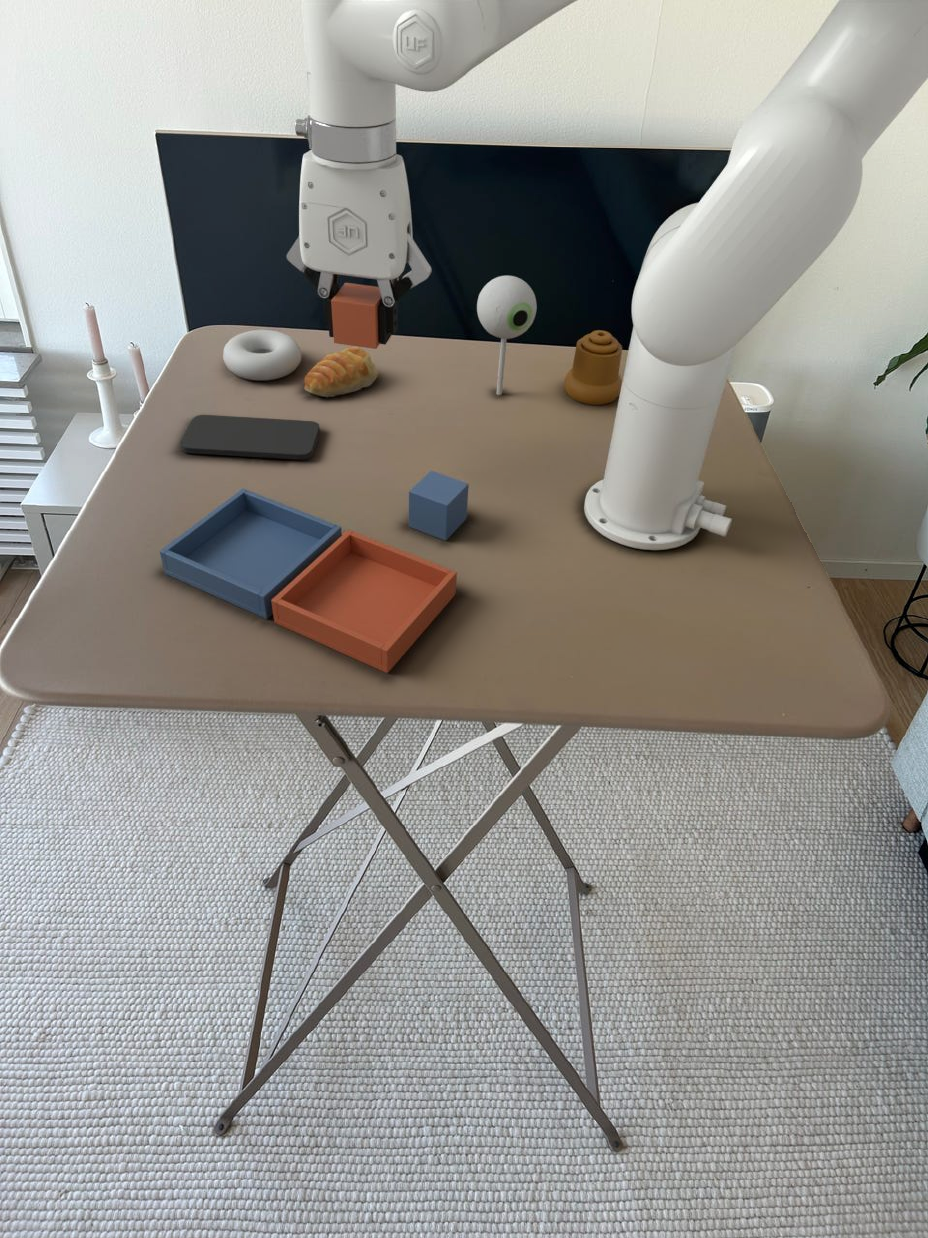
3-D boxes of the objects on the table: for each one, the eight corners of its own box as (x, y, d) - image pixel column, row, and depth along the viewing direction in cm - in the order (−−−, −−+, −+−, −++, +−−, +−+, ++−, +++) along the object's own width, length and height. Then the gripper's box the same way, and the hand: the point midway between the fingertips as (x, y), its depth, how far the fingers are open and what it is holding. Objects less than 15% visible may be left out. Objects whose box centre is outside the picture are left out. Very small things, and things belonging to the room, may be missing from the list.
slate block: (466, 518, 93) (469, 483, 90) (445, 541, 90) (447, 505, 87) (430, 505, 95) (431, 470, 92) (408, 526, 92) (408, 491, 89)
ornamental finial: (622, 383, 117) (617, 411, 111) (567, 375, 118) (559, 402, 112) (633, 325, 111) (628, 351, 106) (575, 317, 112) (567, 342, 107)
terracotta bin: (455, 594, 84) (457, 572, 83) (387, 673, 76) (387, 651, 74) (349, 551, 88) (348, 529, 86) (273, 622, 80) (271, 600, 78)
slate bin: (342, 548, 89) (341, 526, 87) (266, 619, 81) (263, 596, 79) (246, 510, 92) (242, 487, 91) (164, 573, 84) (159, 551, 83)
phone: (194, 413, 104) (321, 421, 104) (195, 419, 105) (321, 427, 105) (176, 447, 99) (310, 455, 99) (178, 453, 99) (310, 461, 99)
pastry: (328, 407, 108) (326, 378, 106) (291, 388, 112) (288, 360, 109) (382, 381, 114) (381, 353, 111) (345, 364, 117) (344, 336, 114)
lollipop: (488, 412, 110) (497, 293, 99) (461, 386, 114) (468, 270, 104) (536, 401, 112) (551, 284, 102) (509, 376, 117) (520, 262, 106)
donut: (280, 392, 111) (315, 357, 118) (277, 367, 108) (313, 332, 115) (210, 376, 113) (248, 342, 120) (205, 351, 110) (245, 318, 117)
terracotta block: (388, 330, 92) (388, 287, 89) (376, 349, 89) (375, 305, 86) (347, 324, 93) (345, 282, 89) (333, 343, 89) (331, 299, 86)
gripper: (247, 140, 76) (270, 340, 89) (436, 161, 74) (432, 363, 87) (278, 119, 82) (296, 309, 94) (456, 138, 80) (449, 330, 92)
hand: (361, 333), depth 90 cm, fingers closed on terracotta block, 4 cm apart
